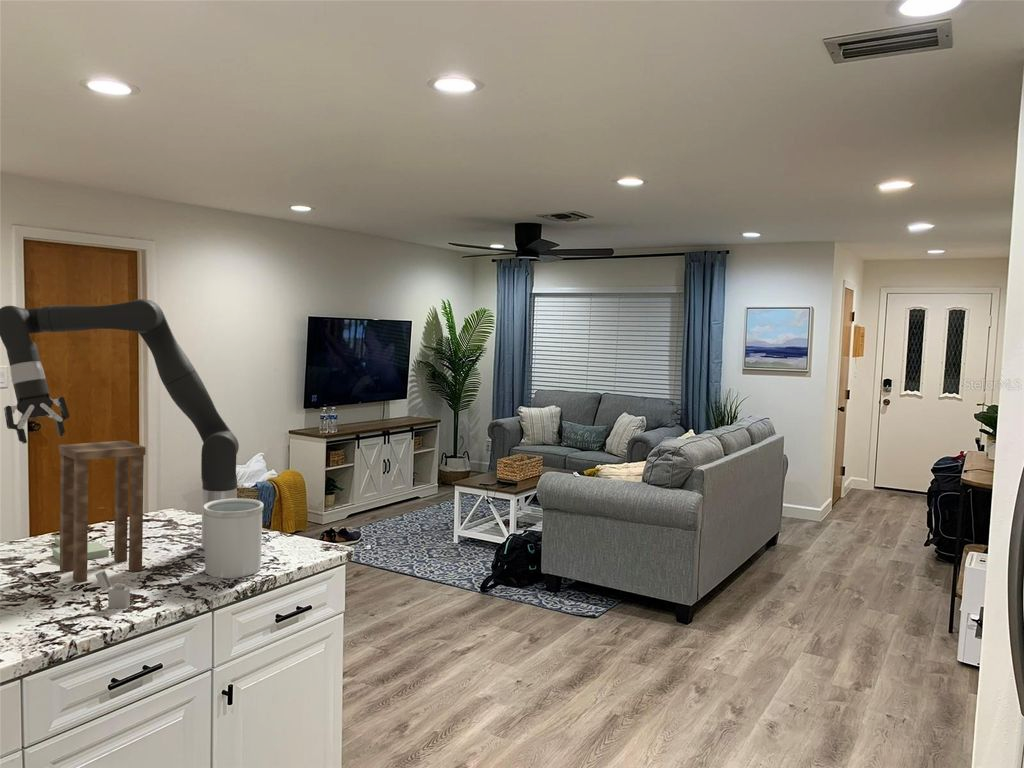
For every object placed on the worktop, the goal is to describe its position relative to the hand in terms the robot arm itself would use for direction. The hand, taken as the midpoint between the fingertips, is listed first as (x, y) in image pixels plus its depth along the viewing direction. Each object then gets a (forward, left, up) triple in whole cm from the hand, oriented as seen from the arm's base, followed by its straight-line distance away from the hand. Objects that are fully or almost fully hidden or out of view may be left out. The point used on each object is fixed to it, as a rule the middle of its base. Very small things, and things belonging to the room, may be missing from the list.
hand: (43, 439), depth 204 cm
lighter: (+13, +49, -31) cm, 60 cm away
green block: (-6, +4, -31) cm, 32 cm away
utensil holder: (-20, +50, -31) cm, 62 cm away
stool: (-1, +24, -31) cm, 39 cm away
